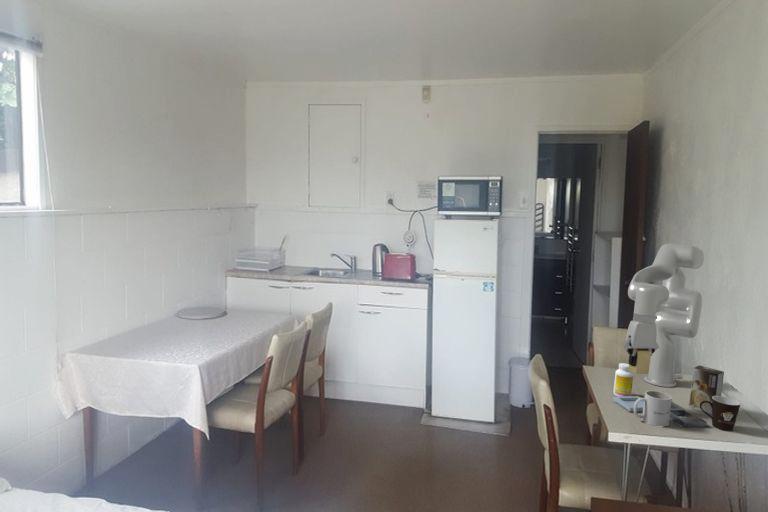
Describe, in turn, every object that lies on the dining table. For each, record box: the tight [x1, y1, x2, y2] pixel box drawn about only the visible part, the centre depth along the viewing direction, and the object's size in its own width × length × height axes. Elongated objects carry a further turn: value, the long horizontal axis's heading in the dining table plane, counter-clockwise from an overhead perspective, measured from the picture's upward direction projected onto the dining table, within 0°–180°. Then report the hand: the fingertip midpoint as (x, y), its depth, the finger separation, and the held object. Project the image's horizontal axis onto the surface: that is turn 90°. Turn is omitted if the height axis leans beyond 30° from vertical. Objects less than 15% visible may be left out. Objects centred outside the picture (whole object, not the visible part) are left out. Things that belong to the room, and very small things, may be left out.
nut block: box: [628, 349, 652, 375], centre depth 207 cm, size 5×5×9 cm
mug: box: [633, 390, 673, 428], centre depth 196 cm, size 12×9×10 cm
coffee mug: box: [700, 395, 741, 432], centre depth 195 cm, size 12×9×10 cm
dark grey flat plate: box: [669, 401, 708, 428], centre depth 203 cm, size 9×22×2 cm, turn 9°
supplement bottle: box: [612, 362, 634, 397], centre depth 220 cm, size 7×7×13 cm
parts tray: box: [612, 395, 644, 413], centre depth 209 cm, size 11×11×2 cm
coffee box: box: [688, 365, 725, 416], centre depth 209 cm, size 9×6×16 cm
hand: (638, 364), depth 208 cm, fingers closed on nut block, 5 cm apart
